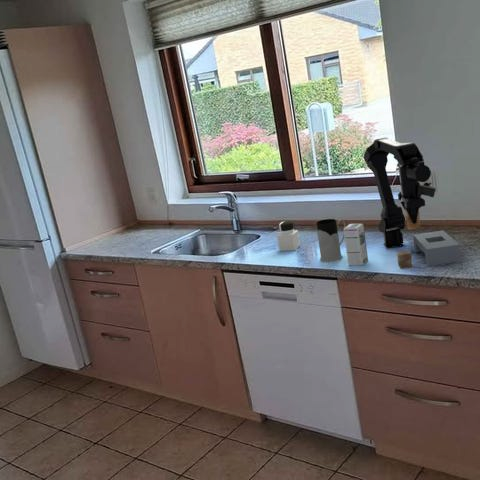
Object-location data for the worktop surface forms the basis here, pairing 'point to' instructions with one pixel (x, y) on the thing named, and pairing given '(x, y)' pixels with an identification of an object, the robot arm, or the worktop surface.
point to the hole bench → (437, 247)
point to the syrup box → (355, 244)
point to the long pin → (409, 222)
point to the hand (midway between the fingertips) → (413, 222)
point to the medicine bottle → (288, 237)
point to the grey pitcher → (329, 240)
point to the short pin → (404, 259)
